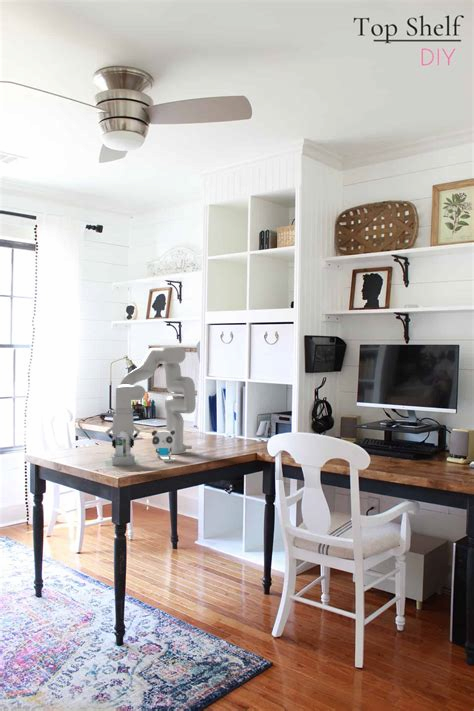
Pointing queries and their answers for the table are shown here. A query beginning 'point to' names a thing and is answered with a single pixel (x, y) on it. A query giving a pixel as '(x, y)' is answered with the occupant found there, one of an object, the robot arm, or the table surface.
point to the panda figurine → (163, 444)
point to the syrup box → (123, 444)
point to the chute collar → (122, 459)
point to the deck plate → (108, 463)
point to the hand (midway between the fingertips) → (122, 447)
